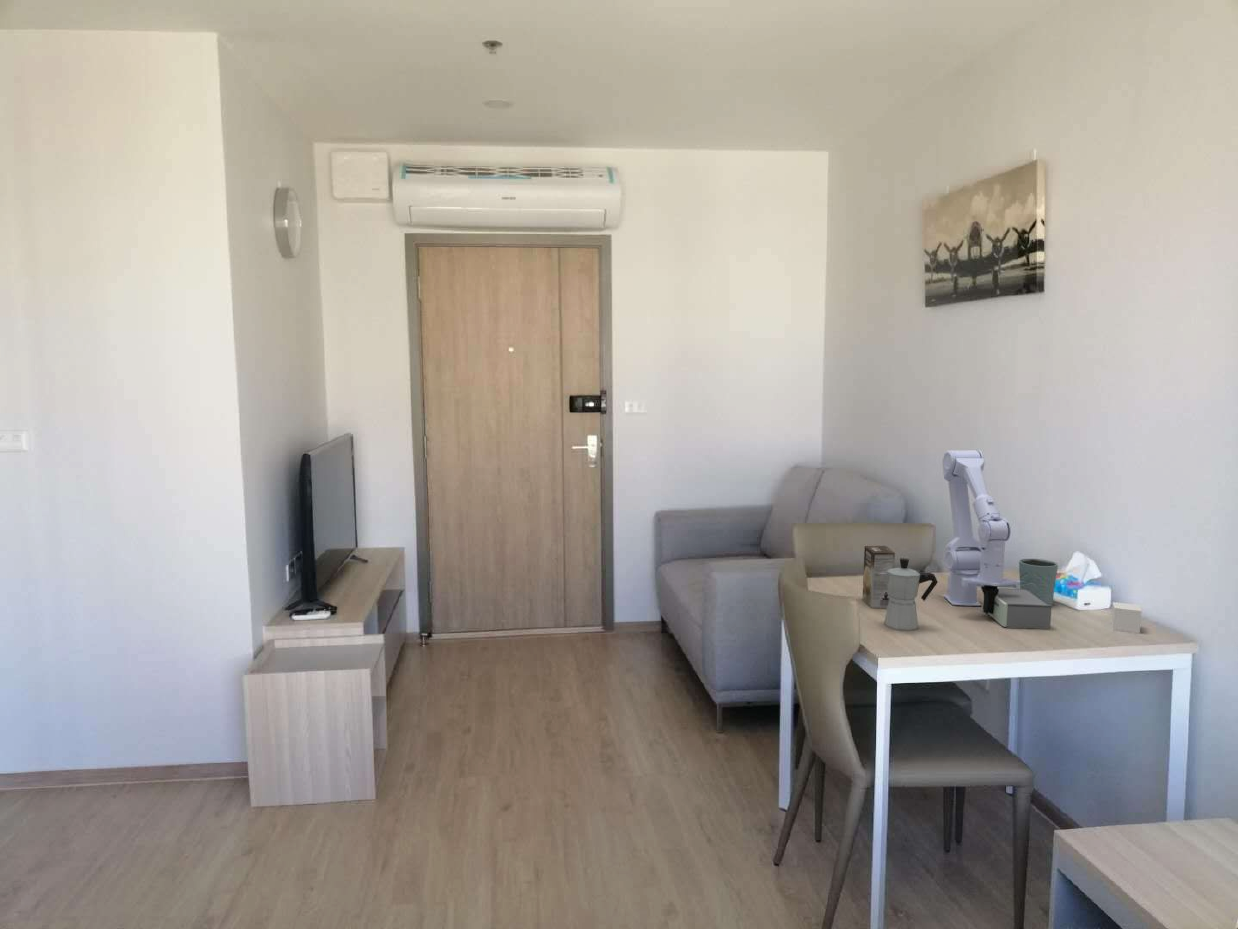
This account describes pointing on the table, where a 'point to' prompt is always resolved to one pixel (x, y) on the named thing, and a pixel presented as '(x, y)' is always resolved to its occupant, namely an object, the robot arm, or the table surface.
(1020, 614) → the grey drawer box
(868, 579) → the coffee box
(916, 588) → the coffee maker
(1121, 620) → the beige cube
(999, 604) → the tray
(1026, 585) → the green plant pot
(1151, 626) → the table surface
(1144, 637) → the table surface
